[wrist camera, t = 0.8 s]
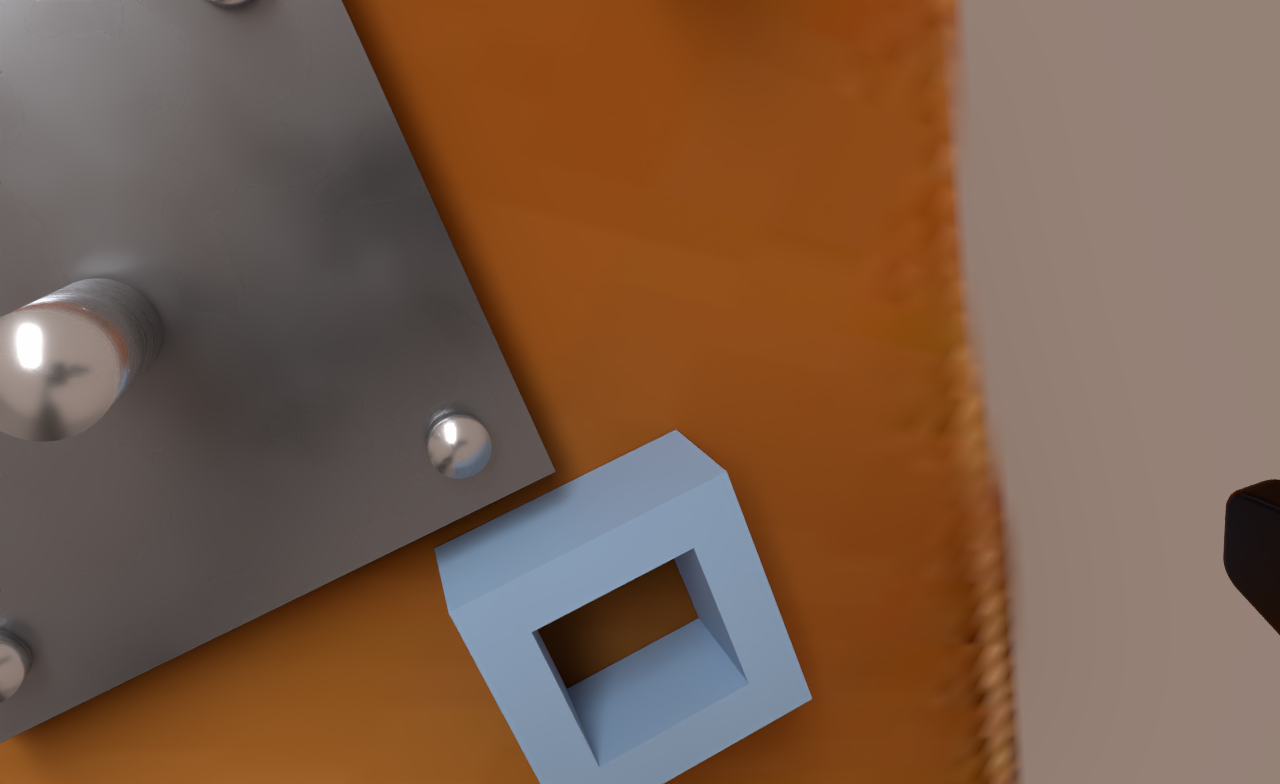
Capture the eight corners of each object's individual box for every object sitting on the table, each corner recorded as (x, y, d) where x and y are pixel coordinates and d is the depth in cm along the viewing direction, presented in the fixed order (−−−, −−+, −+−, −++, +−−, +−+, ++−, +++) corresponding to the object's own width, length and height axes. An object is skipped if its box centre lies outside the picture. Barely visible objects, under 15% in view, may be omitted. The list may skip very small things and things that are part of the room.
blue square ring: (755, 633, 23) (812, 698, 20) (540, 750, 22) (569, 837, 19) (675, 429, 21) (726, 471, 18) (434, 548, 20) (448, 613, 17)
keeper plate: (541, 449, 20) (599, 538, 15) (-12, 716, 18) (-137, 912, 13) (275, -134, 16) (246, -252, 11) (-486, 122, 14) (-907, 106, 9)
